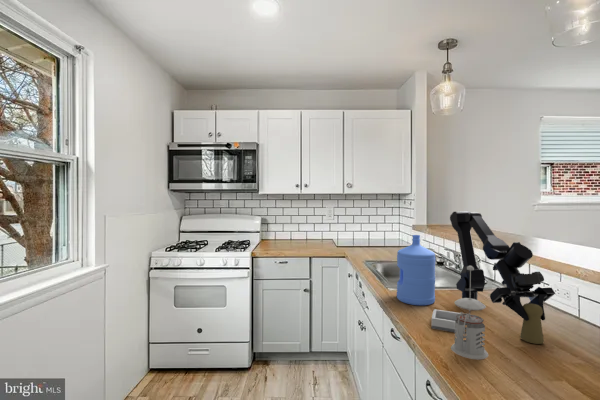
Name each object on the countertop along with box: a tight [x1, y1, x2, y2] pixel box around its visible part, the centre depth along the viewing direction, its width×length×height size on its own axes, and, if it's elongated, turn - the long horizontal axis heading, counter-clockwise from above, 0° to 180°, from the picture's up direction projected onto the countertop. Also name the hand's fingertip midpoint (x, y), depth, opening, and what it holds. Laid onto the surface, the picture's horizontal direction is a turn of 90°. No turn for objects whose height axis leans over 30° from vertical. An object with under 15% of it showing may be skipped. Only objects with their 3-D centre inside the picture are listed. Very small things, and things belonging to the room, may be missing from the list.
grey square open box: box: [430, 308, 464, 334], centre depth 114 cm, size 10×10×4 cm
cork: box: [519, 302, 545, 345], centre depth 102 cm, size 6×6×11 cm
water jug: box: [396, 234, 437, 306], centre depth 141 cm, size 16×16×28 cm
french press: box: [450, 266, 489, 360], centre depth 95 cm, size 10×12×25 cm
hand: (535, 320), depth 101 cm, fingers closed on cork, 5 cm apart
